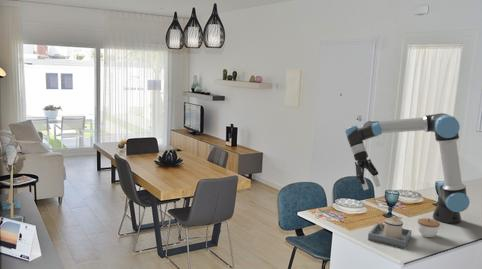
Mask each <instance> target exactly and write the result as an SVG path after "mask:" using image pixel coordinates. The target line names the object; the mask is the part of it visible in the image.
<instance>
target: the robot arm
mask: <svg viewBox="0 0 482 269" xmlns="http://www.w3.org/2000/svg"><path fill="white" fill-rule="evenodd" d="M420 131H424V132H425V133H427V132H428V133H429V132H432V133H434V136H435V141H436V142H438V144H439V151H440V159H441V168H442V171H443V172H442V173H443V174H442V175H443V180H441V181H440V182H439V185H438V195H437V202H436V204H437V205H436V207H435V209H434V211H433V214H432V218H433V220H436V221H438V222H439V223H440V222H441V223H445V224H451V225H452V224H460V223H461V221H462V216H461V213H462V212H464V211H465V210H467V209H468V208H469V207H470V199H469V196H468V195H467V194H468V193H467V187H466V185H465V184H464V183H463V181H462V173H461V167H460V158H459V151H458V150H459V149H458V144H457V141H459V139H460V135H459V132H460V123H459V121H458V119H457V118H456V117H455V116H452V115H450V114H447V113H443V112H441V113H435V114H425V115H424V116H422V117H413V118H401V119H388V120H378V121H377V120H376V121H375V120H374V121H371V120H367V121H366V122H364V123H363V126H362V127H358V126H357V125H352V126H350V127H347V128H346V129H345V131H344V132H345V134H346V138H347V142H348V144H349V147H350V148H351V152H352V154H353V158H354V160H355V161H354V164H355V174H356V178H357V180H359V181H360V184H361V186H362V189H363V191H366V190H369V185H368V183H367V180H366V178H365V177H364V176H365V169H366V170H367V171H368V172H369V173H370V175H371V177H372V181H373V183H374V185H375V187H376V188H378V187H381V183H380V180H379V178H378V175H379V172H378V169H377V168H376V167H375V165H374V163H373V162H372V159H371V158H369V159H368V157H369V155H368V152H367V151H366V146H365V144H364V141H366V140H368V139H372V138H375V137H378V136H380V135H381V136H382V134H389V133H404V132H405V133H407V132H420Z"/></svg>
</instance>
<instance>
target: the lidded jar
mask: <svg viewBox="0 0 482 269" xmlns="http://www.w3.org/2000/svg"><path fill="white" fill-rule="evenodd" d="M440 225H441V223H440V221H437V220H435V219H434V218H433V219H431V218H427V217H426V218H425V217H422V218H418V219H417V230H418V232H419V233H420V235H421V236H422V237H425V238H427V237H432V238H434V237H435V236H437V234H438V233H439V230H440V227H441V226H440Z"/></svg>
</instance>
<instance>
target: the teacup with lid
mask: <svg viewBox="0 0 482 269" xmlns="http://www.w3.org/2000/svg"><path fill="white" fill-rule="evenodd" d="M382 224H385V226H384V228H383V226H382ZM403 224H404V222H403V220H401V219H399V218H397V216H396V215H392V216H391V217H386V218H385V219H384V220H382V221H380V227H381V229H382V230H384V236H385V237H390V238H394V239H398V240H401V235H402V228H403Z"/></svg>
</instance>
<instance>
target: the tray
mask: <svg viewBox="0 0 482 269" xmlns="http://www.w3.org/2000/svg"><path fill="white" fill-rule="evenodd" d="M380 223H381V222H380ZM380 223H379V222H377V223H375V225H374V226H373V227H372V228H371V230H370V231H369V232H368V237H367V240H368V241H372V242H376V243H380V244H383V243H384V245H388V246H392V245H393V246H392V247H396V246H398V248H400V247H402V248H401V249H404V248H406V247H407V245H408V243H409V241H410V239H411V238H412V233H413V231H412V229H408V228H403V227H402V235H401V240H398V239H394V238H390V237H385V236H384V230H382V229H381V227H380ZM382 226H383V228H384V226H385V223H382Z"/></svg>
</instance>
